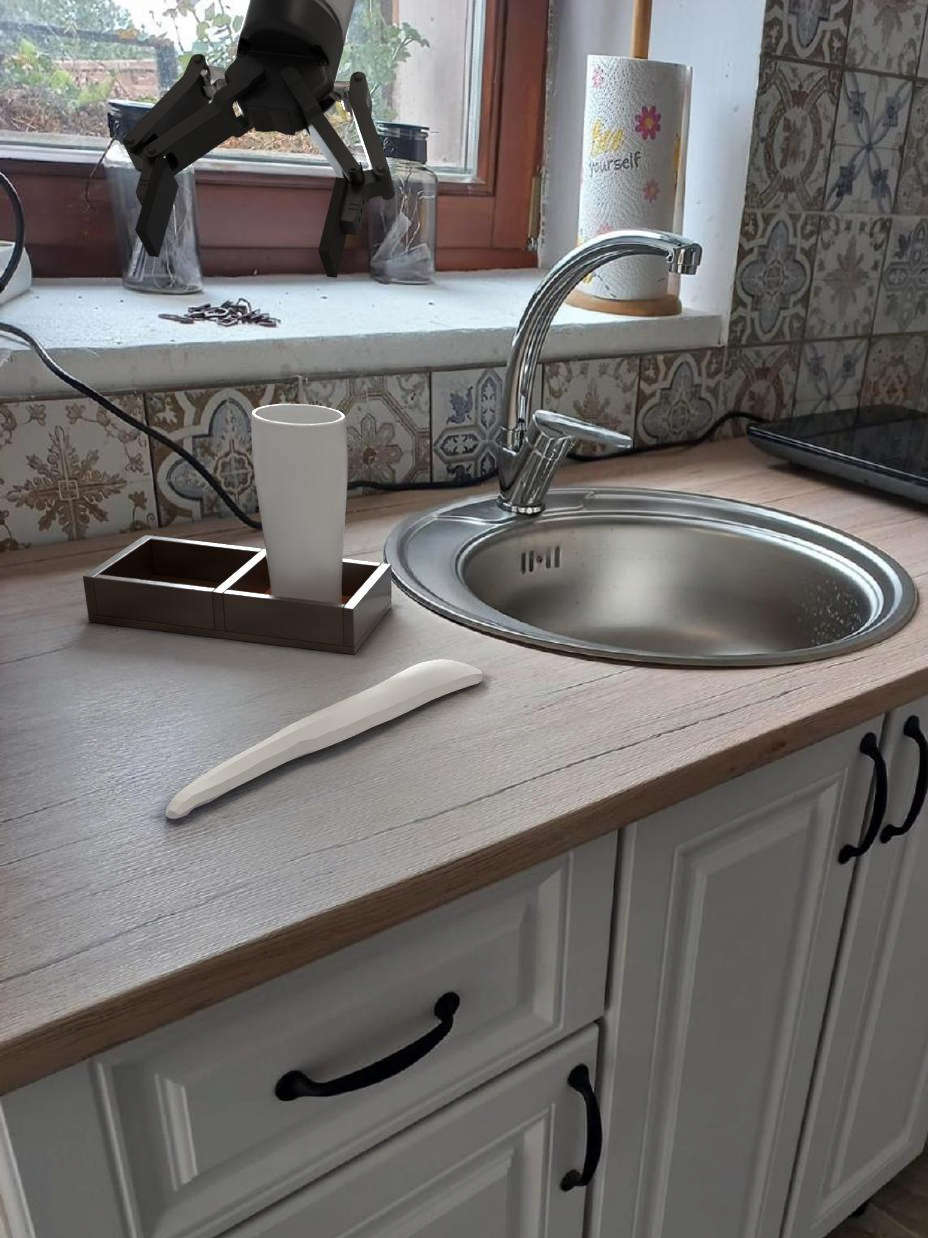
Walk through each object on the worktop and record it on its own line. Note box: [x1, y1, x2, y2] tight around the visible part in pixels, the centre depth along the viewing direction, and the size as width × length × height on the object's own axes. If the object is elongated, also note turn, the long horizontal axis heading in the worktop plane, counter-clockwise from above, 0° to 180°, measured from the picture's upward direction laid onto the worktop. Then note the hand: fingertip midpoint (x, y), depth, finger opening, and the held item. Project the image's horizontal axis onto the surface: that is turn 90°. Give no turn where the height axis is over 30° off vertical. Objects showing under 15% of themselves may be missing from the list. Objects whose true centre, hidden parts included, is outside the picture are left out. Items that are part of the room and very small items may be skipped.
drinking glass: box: [250, 403, 349, 604], centre depth 93 cm, size 7×7×15 cm
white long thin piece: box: [165, 658, 483, 820], centre depth 80 cm, size 28×4×2 cm, turn 148°
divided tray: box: [82, 534, 393, 655], centre depth 96 cm, size 20×11×4 cm, turn 84°
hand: (236, 254), depth 91 cm, fingers open, 13 cm apart
